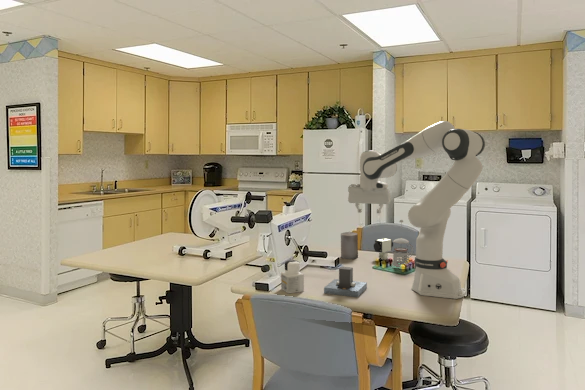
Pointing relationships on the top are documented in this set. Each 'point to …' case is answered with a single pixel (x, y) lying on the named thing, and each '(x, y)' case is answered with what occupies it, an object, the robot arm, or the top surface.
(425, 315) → the top surface
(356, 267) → the top surface
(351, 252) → the pillar candle
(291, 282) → the container
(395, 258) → the french press
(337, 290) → the plate
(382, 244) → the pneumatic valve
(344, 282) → the block
